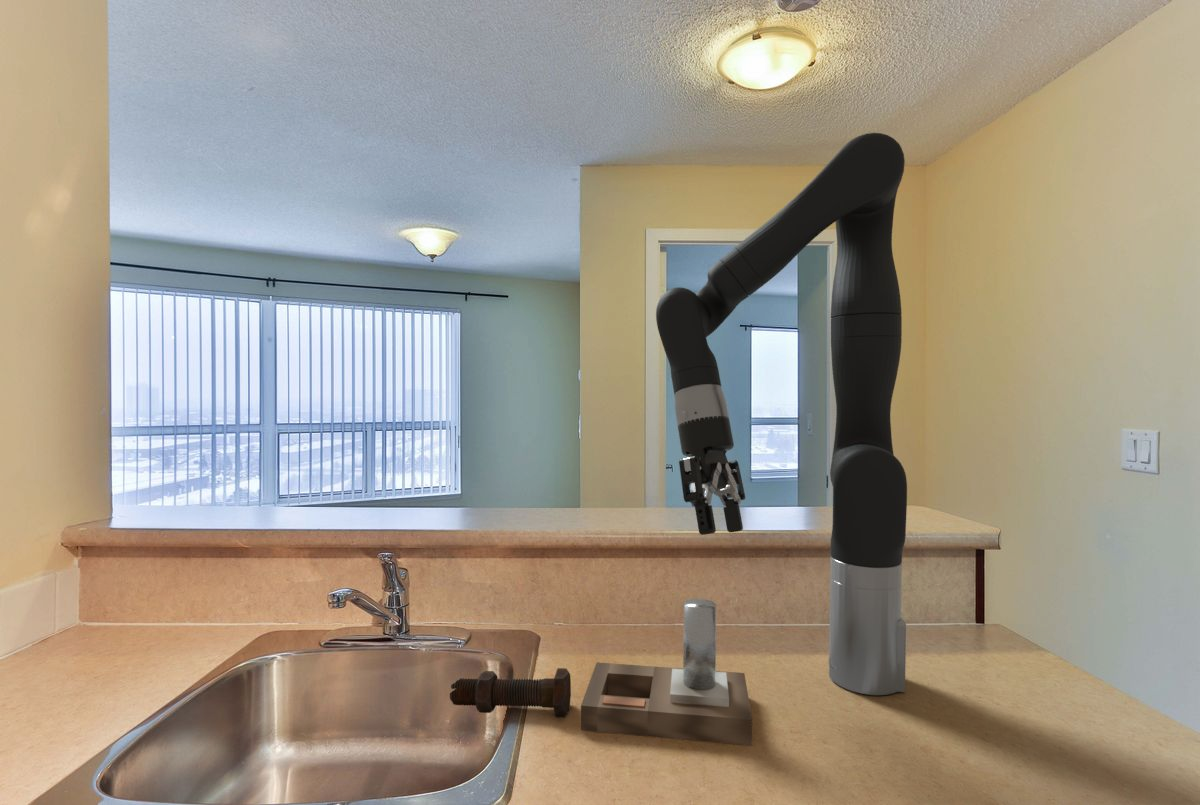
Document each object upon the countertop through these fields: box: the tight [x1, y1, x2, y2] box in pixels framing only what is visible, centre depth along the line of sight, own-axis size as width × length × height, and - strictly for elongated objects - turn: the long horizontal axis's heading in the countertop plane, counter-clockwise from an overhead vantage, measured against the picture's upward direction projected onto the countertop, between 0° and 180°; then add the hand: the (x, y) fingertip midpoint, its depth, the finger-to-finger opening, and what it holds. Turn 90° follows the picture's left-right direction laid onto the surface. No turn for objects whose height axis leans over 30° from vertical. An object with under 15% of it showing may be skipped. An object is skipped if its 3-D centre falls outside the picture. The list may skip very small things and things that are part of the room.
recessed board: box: [580, 661, 753, 747], centre depth 79 cm, size 20×12×4 cm, turn 81°
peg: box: [682, 598, 717, 691], centre depth 78 cm, size 4×4×10 cm
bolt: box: [449, 667, 572, 719], centre depth 80 cm, size 6×5×15 cm
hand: (722, 532), depth 87 cm, fingers open, 8 cm apart
